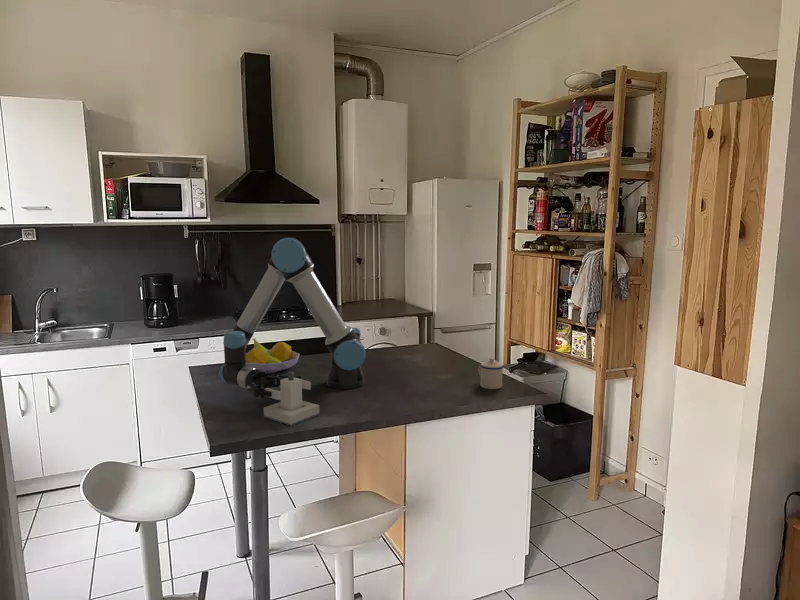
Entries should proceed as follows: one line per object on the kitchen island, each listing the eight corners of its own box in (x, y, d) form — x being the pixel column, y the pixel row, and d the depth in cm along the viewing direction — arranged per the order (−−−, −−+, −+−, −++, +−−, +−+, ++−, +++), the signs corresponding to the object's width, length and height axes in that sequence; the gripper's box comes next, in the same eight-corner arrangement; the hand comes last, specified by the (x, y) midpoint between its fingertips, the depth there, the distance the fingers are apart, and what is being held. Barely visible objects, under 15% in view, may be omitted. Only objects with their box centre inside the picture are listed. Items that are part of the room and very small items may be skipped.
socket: (255, 415, 185) (255, 405, 185) (284, 404, 196) (284, 395, 195) (290, 426, 175) (290, 416, 175) (319, 415, 186) (319, 405, 185)
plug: (280, 414, 184) (280, 372, 182) (292, 410, 188) (291, 369, 186) (291, 417, 181) (290, 375, 179) (302, 413, 185) (301, 372, 183)
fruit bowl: (305, 374, 235) (305, 348, 233) (239, 380, 225) (238, 353, 224) (294, 358, 261) (293, 335, 259) (234, 363, 251) (233, 339, 250)
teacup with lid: (507, 387, 219) (508, 359, 217) (490, 391, 214) (491, 362, 212) (486, 379, 229) (487, 352, 227) (470, 383, 224) (471, 355, 222)
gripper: (280, 381, 205) (321, 392, 192) (223, 398, 185) (266, 411, 172) (279, 361, 204) (321, 371, 191) (223, 377, 183) (265, 388, 171)
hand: (295, 390), depth 182 cm, fingers open, 13 cm apart
